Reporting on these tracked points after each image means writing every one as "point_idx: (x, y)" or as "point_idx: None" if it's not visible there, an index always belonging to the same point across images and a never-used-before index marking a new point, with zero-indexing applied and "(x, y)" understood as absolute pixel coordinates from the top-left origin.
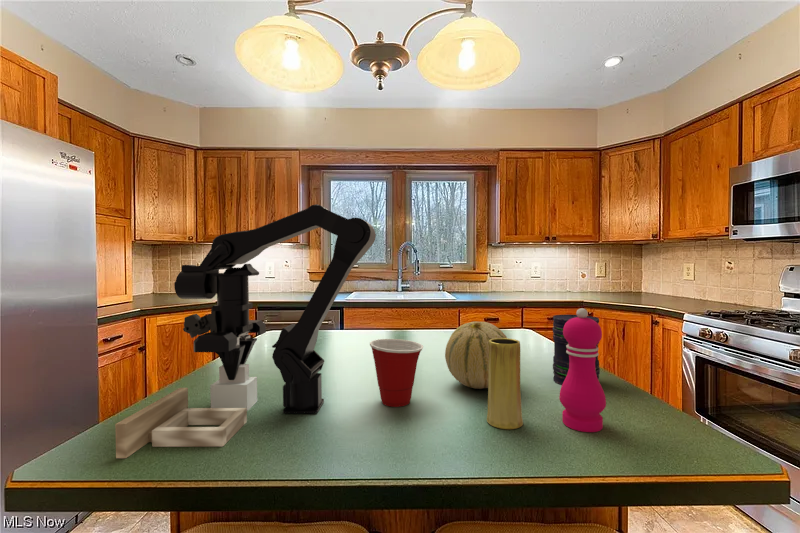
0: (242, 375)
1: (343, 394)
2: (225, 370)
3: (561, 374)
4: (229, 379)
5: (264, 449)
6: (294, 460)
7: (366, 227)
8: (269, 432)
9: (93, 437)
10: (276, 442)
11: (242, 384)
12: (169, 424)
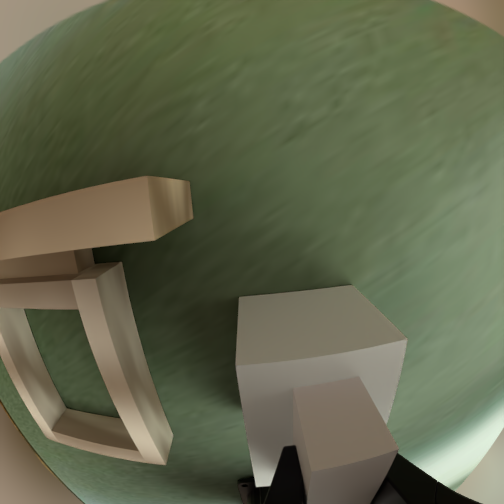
0: None
1: None
2: (267, 494)
3: None
4: (282, 450)
5: (89, 466)
6: (88, 487)
7: None
8: (142, 471)
9: (31, 64)
10: (115, 478)
11: (260, 477)
12: (5, 306)
